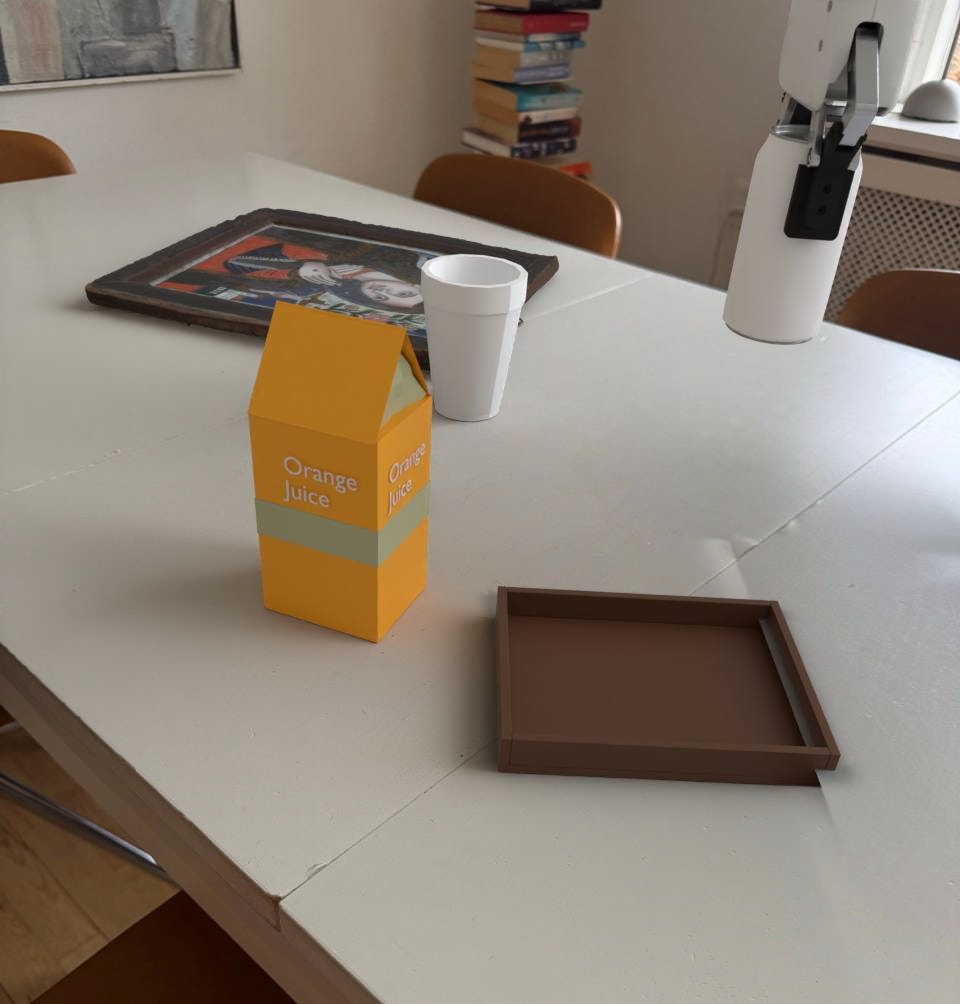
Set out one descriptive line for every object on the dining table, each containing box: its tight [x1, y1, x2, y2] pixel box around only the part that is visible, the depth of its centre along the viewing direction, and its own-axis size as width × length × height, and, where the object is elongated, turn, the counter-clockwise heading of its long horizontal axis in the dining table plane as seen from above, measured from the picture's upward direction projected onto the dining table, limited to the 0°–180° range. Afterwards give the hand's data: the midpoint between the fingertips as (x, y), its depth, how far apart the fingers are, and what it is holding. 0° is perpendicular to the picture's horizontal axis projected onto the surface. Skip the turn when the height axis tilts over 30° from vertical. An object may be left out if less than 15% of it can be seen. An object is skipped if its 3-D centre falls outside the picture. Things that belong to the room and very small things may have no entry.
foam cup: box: [421, 254, 528, 422], centre depth 93 cm, size 10×9×13 cm
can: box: [722, 124, 864, 346], centre depth 64 cm, size 6×6×12 cm
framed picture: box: [84, 207, 560, 372], centre depth 120 cm, size 40×45×3 cm
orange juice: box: [246, 300, 433, 644], centre depth 64 cm, size 8×9×20 cm
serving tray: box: [494, 585, 842, 788], centre depth 63 cm, size 19×15×3 cm
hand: (796, 219), depth 63 cm, fingers closed on can, 6 cm apart
